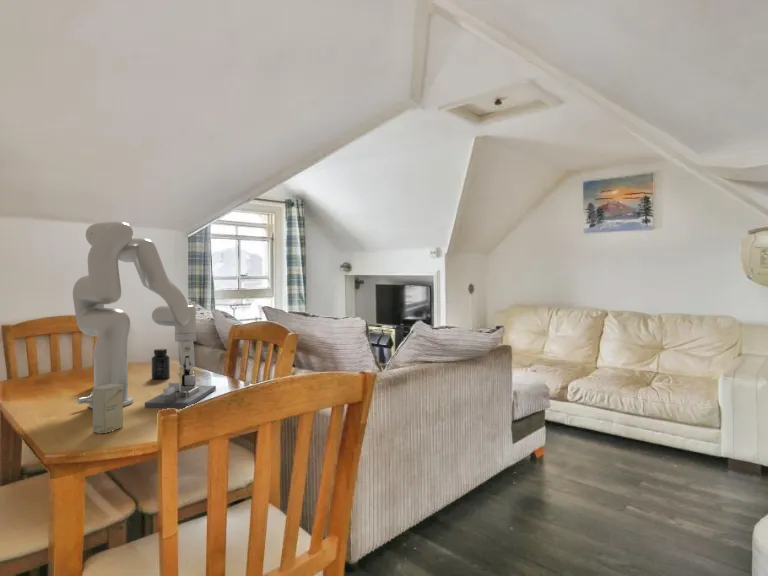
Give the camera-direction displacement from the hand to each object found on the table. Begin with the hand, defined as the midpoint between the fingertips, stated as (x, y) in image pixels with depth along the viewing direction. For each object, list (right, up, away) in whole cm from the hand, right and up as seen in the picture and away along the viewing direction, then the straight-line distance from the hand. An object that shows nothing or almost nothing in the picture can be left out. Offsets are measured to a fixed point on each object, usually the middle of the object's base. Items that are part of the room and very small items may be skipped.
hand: (185, 383), depth 183 cm
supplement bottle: (-16, -1, +13) cm, 20 cm away
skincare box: (+1, -2, -53) cm, 53 cm away
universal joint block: (0, -1, 0) cm, 1 cm away
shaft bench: (+7, -1, -19) cm, 20 cm away
